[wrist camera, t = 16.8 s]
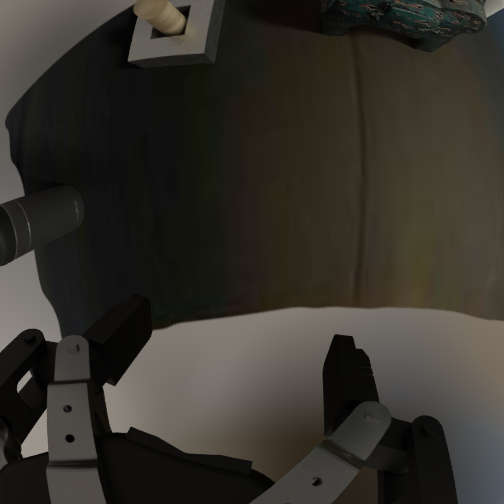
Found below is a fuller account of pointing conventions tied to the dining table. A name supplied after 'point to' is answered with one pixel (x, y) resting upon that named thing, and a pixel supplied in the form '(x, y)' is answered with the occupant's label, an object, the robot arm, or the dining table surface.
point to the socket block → (180, 37)
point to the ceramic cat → (406, 18)
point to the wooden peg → (161, 16)
